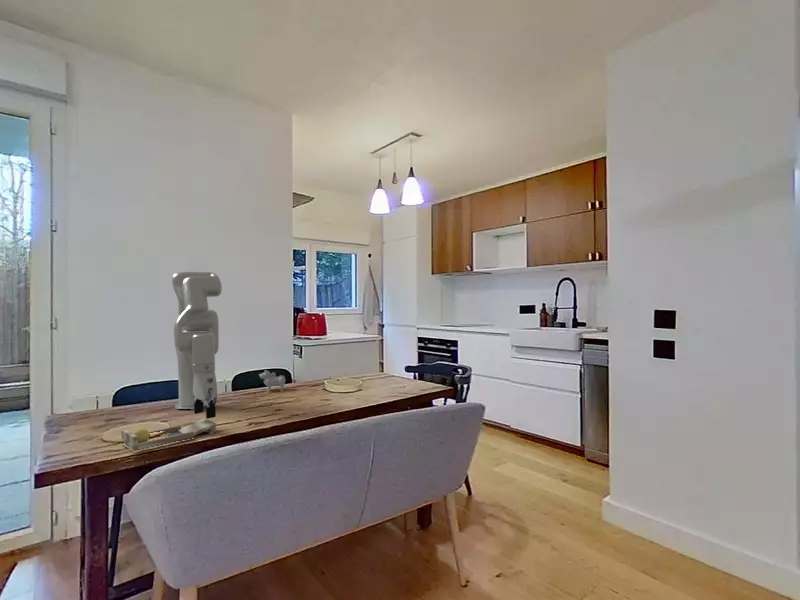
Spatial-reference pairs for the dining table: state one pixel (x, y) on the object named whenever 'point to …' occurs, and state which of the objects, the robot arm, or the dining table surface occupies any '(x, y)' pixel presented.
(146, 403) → the dining table surface
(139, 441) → the ball
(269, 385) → the grey dog figurine
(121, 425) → the dining table surface
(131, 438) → the grey tray
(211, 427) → the ramp
